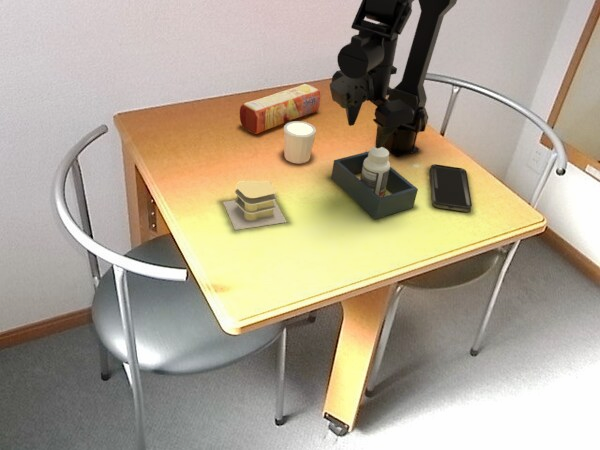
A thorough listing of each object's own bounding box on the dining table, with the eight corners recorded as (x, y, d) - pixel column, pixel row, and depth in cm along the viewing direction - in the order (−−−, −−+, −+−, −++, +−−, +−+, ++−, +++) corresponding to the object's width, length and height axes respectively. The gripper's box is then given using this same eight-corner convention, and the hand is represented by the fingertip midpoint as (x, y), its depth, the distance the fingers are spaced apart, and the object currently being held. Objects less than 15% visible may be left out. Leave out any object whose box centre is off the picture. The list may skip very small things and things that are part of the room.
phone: (466, 168, 135) (472, 208, 123) (464, 173, 136) (470, 212, 124) (430, 163, 135) (432, 202, 123) (428, 167, 136) (431, 206, 124)
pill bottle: (377, 183, 129) (385, 143, 123) (388, 198, 125) (397, 157, 119) (354, 186, 128) (361, 145, 122) (364, 201, 124) (372, 160, 118)
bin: (367, 168, 134) (371, 150, 131) (413, 207, 124) (418, 189, 121) (331, 178, 129) (333, 160, 127) (375, 219, 119) (379, 200, 116)
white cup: (309, 167, 132) (312, 139, 128) (278, 161, 133) (280, 133, 128) (315, 151, 137) (318, 123, 133) (285, 146, 138) (287, 118, 134)
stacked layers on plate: (272, 195, 122) (273, 172, 119) (286, 222, 116) (288, 198, 113) (222, 202, 119) (223, 178, 116) (235, 230, 113) (235, 205, 109)
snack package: (302, 103, 155) (305, 78, 151) (321, 113, 152) (324, 88, 148) (237, 126, 143) (238, 100, 139) (256, 138, 139) (257, 111, 135)
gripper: (312, 45, 113) (304, 121, 122) (370, 89, 100) (357, 169, 110) (361, 38, 117) (350, 112, 127) (423, 79, 105) (406, 156, 115)
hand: (364, 136), depth 120 cm, fingers open, 9 cm apart
